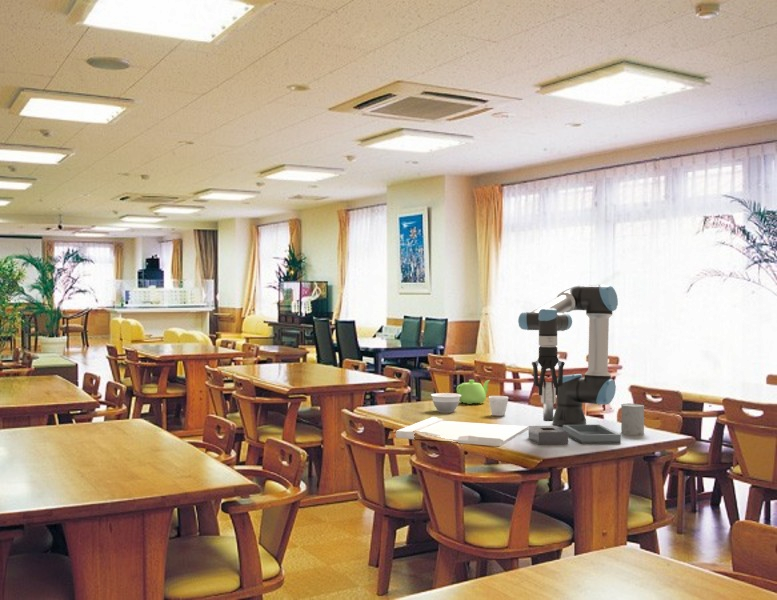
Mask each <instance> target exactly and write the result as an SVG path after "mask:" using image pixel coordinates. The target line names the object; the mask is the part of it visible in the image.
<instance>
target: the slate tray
mask: <svg viewBox="0 0 777 600" xmlns="http://www.w3.org/2000/svg"><path fill="white" fill-rule="evenodd" d="M562 429H564V430H565V431H567V432H568V438H571V439H573V440H574V441H577V442H578V443H579V444H581V445H590V444H591V445H593V444H594V445H595V444H596V445H597V444H599V445H600V444H601V445H604V444H608V445H609V444H621V443H622V442H621V440H622V439H621V436H622V435H621V434H620V433H618V432H616V431H613V430H611V429H609V428H608V427H605V426H603V425H601V424H586V425H563V426H562Z"/></svg>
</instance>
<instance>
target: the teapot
mask: <svg viewBox="0 0 777 600" xmlns="http://www.w3.org/2000/svg"><path fill="white" fill-rule="evenodd" d="M490 381H491V379H487V380H485V381H484V383H483V385H482V383H480V382H475V379H468V382H462V383H460V384H459V385H457V386H456V394H460V395H461V397H460V398H459V403H462V402H463V403H462V404H467V405H468V404H471V405H473V404H477V403H481V404H482V403H484V402H485V401H486V399H487V398H486V397H487V393H488V385H489V383H490Z"/></svg>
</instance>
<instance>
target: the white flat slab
mask: <svg viewBox="0 0 777 600" xmlns="http://www.w3.org/2000/svg"><path fill="white" fill-rule="evenodd" d="M415 430H416V431H420V433H425V434H428V435H432V436H436V437H441V438H445V439H449V440H453V441H456V442H458V443H457V444H467V445H468V444H469V445H480V446H493V447H501V446H503V445H504V444H506V443H508V442H509V441H512V440H513V439H515V438H516V437H518V436H519V435H522V434H523V433H524V432H526V431H529V425H528V426H526V425H512V424H511V425H510V424H496V423H483V422H482V423H481V422H467V421H452V420H444V418H440V417H436V416H431V417H428V418H426V419H423V420H421V421H418V422H416V423H413V424H410V425H408V426H406V427H401V428H400V429H397V430H396V431H395V435H396V436H395V438H396V439H405V440H406V439H407V440H415V439H414V437H415V436H414V434H415V433H416V432H413V431H415Z"/></svg>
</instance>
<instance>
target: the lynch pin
mask: <svg viewBox="0 0 777 600" xmlns="http://www.w3.org/2000/svg"><path fill="white" fill-rule="evenodd" d="M553 387H554V385H553V378H552V377H544V382H543V388H544V404H543V405H542V410H543V411H542V412H543V413H542V415H543V416H542V417H543V421H544V422H553V417H554V403H553Z"/></svg>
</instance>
